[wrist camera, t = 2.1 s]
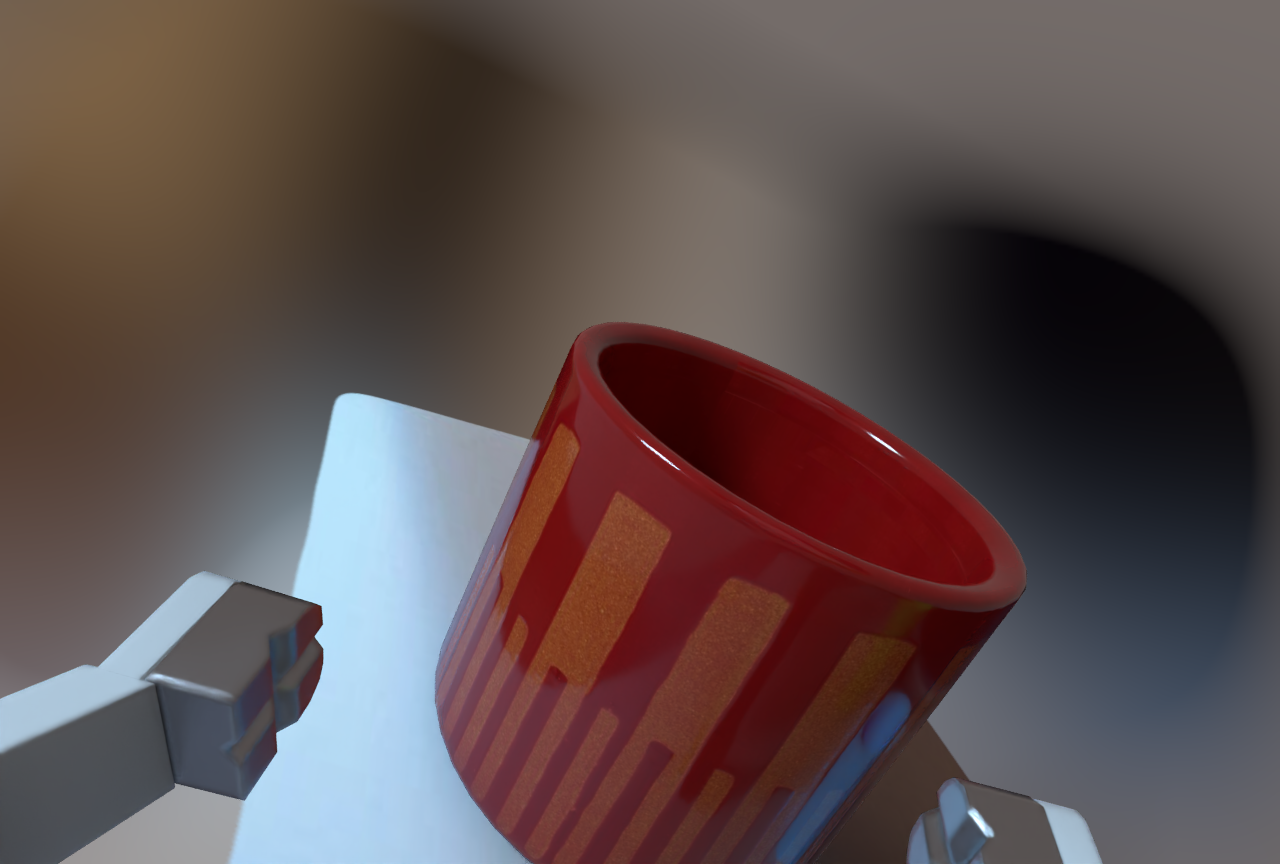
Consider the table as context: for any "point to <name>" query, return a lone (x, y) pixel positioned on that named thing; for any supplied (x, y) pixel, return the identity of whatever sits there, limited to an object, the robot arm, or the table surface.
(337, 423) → the table surface
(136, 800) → the robot arm
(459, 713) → the planter
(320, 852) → the table surface
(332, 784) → the table surface
